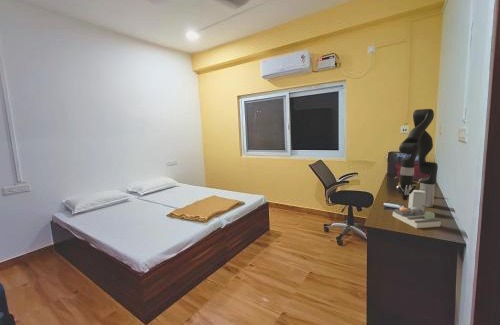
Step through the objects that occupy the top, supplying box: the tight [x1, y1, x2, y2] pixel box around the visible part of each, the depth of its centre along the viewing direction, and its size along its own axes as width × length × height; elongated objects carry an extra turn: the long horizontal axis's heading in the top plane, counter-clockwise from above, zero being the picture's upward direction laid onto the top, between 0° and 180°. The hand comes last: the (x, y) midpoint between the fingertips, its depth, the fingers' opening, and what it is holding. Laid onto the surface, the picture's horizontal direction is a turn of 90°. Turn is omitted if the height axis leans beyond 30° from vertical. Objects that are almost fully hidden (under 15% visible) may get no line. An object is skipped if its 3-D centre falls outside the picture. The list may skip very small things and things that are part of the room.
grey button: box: [410, 207, 420, 212], centre depth 159 cm, size 5×5×2 cm
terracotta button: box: [398, 206, 409, 212], centre depth 158 cm, size 5×5×2 cm
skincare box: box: [407, 189, 426, 211], centre depth 171 cm, size 8×6×15 cm
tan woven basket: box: [394, 176, 422, 190], centre depth 213 cm, size 22×17×15 cm
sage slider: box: [424, 210, 436, 220], centre depth 148 cm, size 4×3×4 cm
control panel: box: [392, 207, 442, 229], centre depth 154 cm, size 20×16×5 cm
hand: (404, 200), depth 157 cm, fingers closed
